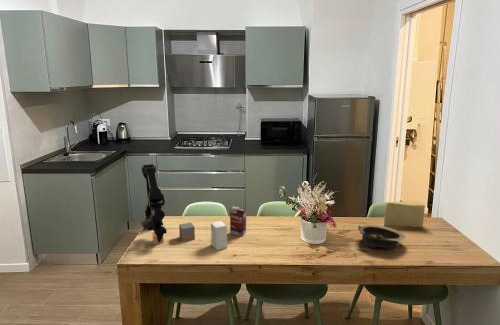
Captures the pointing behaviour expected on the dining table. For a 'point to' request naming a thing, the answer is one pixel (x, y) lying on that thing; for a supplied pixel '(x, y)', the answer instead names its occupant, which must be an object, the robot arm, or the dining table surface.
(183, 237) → the tower base
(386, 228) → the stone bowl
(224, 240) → the small box
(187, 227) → the tower top
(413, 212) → the cheese
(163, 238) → the terracotta cube
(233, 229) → the supplement box
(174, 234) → the dining table surface
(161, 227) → the robot arm
